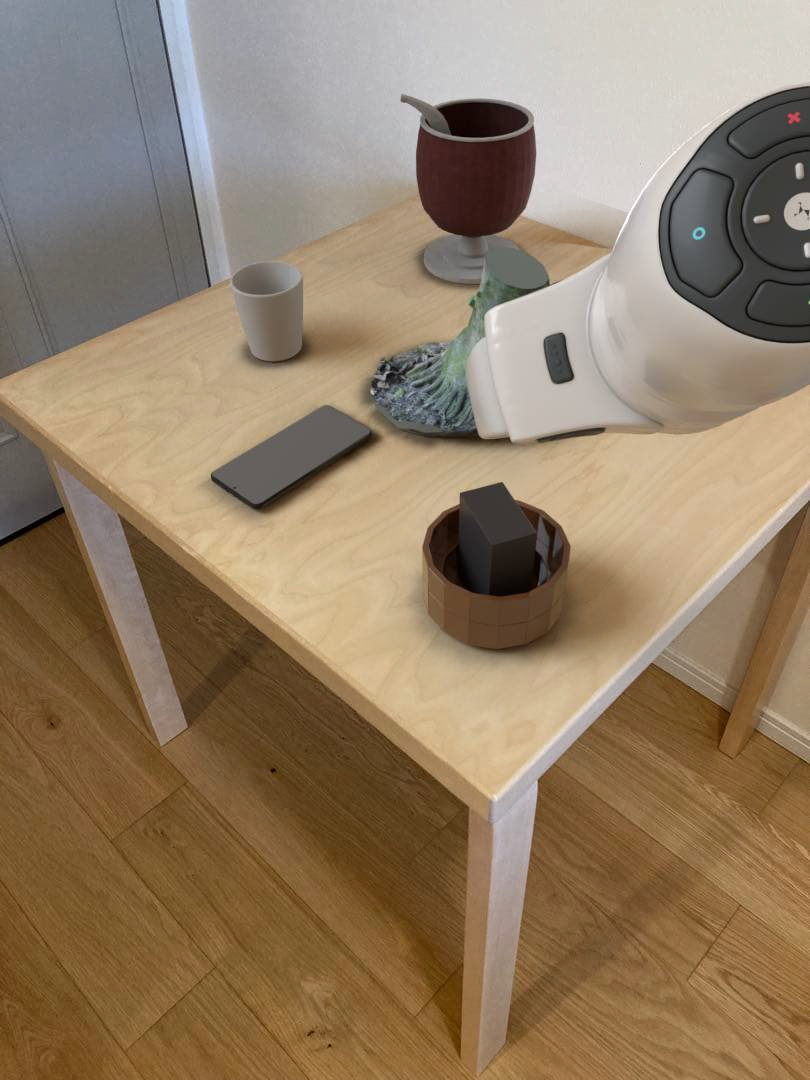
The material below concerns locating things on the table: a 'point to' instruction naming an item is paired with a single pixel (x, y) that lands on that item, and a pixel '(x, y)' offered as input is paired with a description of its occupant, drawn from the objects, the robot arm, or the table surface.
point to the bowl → (486, 614)
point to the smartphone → (290, 456)
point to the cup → (270, 308)
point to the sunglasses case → (494, 543)
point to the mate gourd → (472, 178)
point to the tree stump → (451, 356)
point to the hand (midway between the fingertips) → (639, 380)
